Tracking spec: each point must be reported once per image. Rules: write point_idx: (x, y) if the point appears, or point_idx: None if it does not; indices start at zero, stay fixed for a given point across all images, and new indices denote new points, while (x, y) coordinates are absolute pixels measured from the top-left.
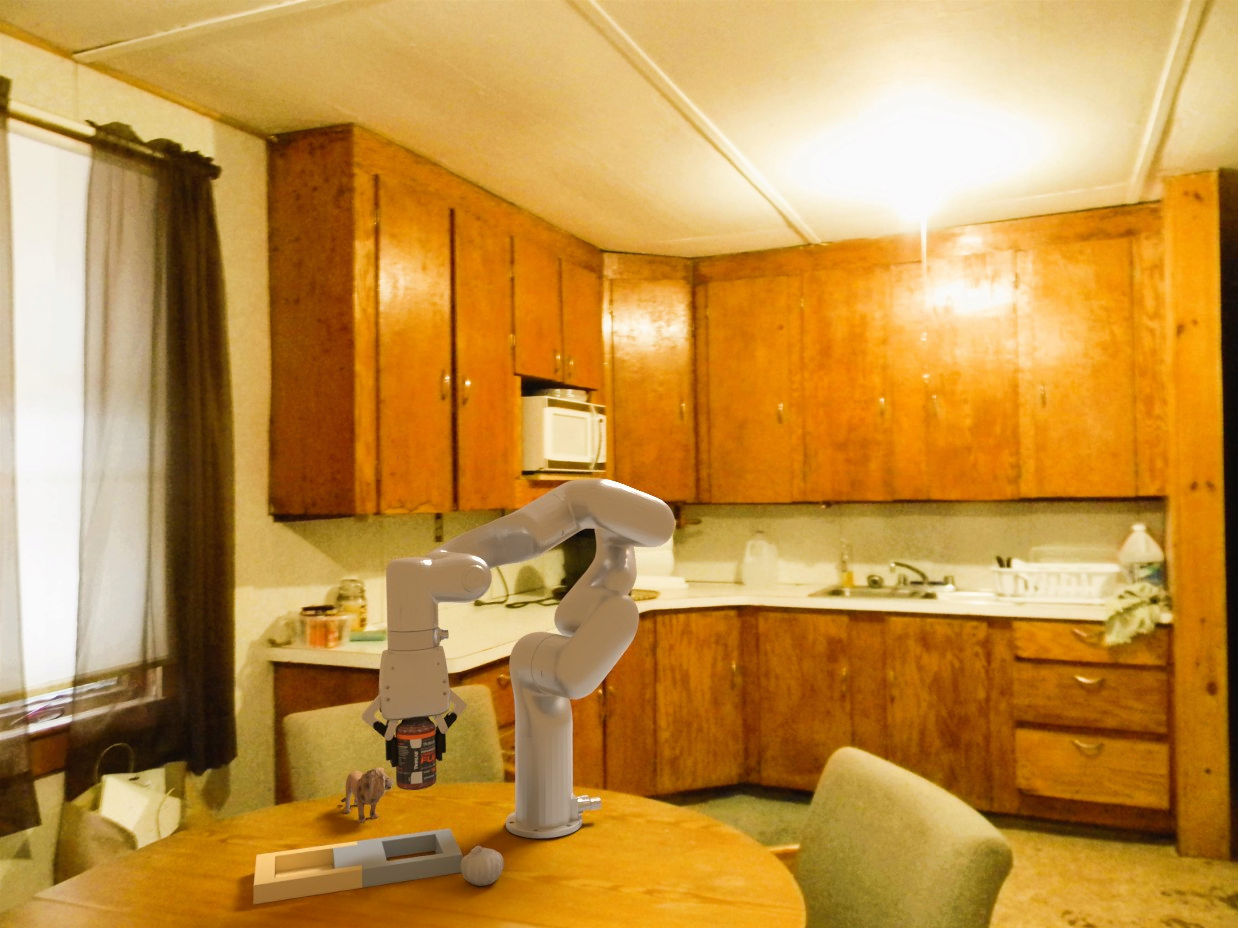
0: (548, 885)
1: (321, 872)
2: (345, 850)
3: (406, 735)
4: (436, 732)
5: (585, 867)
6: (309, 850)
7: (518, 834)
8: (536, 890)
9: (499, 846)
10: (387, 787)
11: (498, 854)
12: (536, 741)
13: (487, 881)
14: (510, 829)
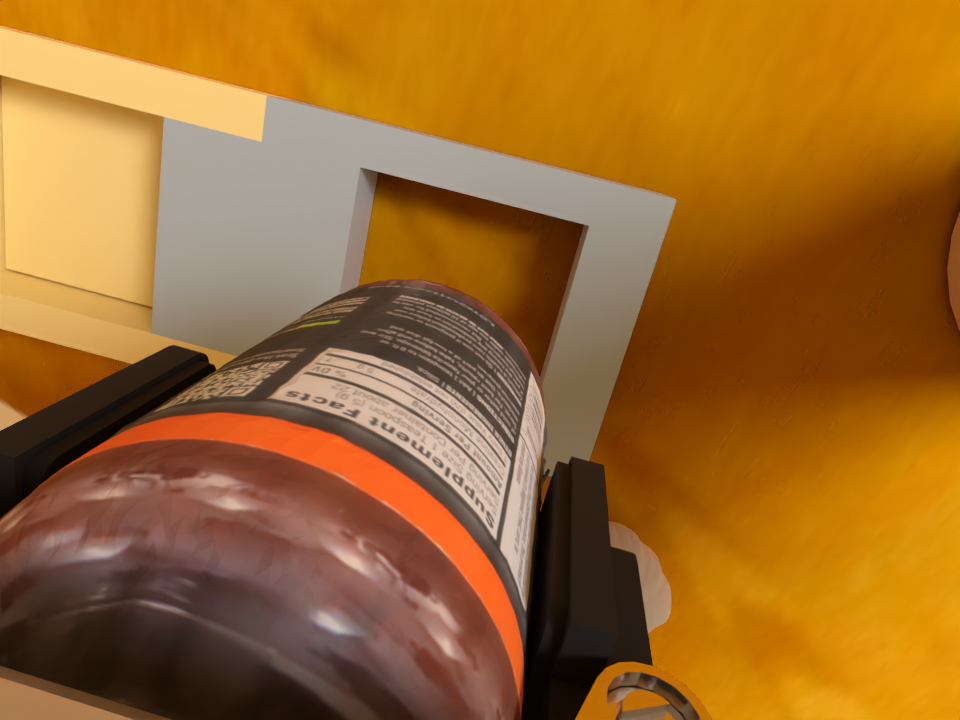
0: (742, 676)
1: (105, 333)
2: (207, 176)
3: None
4: (537, 705)
5: (923, 651)
6: (73, 83)
7: (950, 298)
8: (694, 679)
9: (816, 332)
10: None
11: (652, 629)
12: None
13: None
14: (958, 238)
